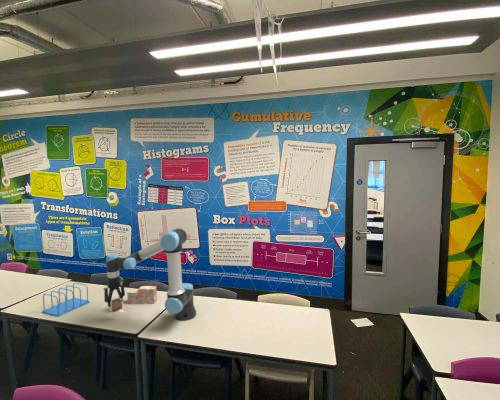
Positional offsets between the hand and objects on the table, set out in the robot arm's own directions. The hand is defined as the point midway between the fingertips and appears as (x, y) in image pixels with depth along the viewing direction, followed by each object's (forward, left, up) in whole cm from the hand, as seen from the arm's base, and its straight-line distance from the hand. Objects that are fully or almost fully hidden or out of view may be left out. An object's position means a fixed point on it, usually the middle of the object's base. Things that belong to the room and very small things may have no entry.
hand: (115, 308), depth 188 cm
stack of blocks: (+10, -27, -9) cm, 30 cm away
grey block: (+14, -9, -8) cm, 19 cm away
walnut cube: (0, 0, 0) cm, 1 cm away
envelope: (+11, -8, -8) cm, 16 cm away
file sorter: (+49, +12, -9) cm, 52 cm away
